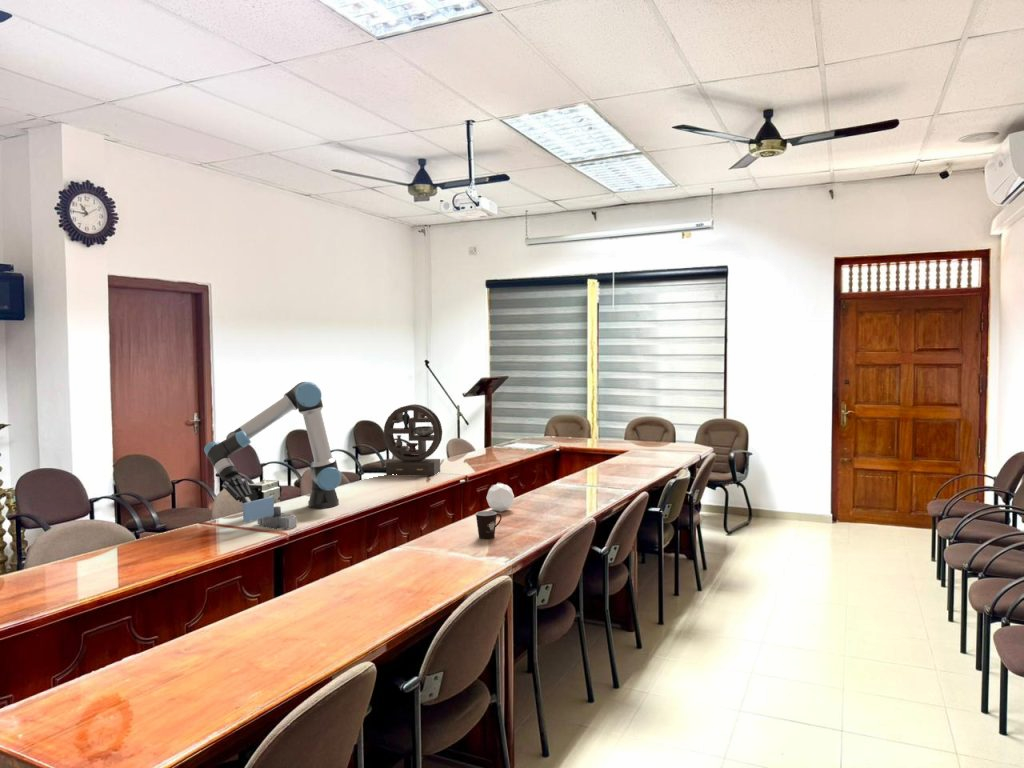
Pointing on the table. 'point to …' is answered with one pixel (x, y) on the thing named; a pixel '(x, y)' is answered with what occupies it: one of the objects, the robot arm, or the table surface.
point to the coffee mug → (487, 524)
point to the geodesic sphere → (500, 497)
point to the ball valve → (265, 490)
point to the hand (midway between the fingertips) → (252, 510)
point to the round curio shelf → (406, 460)
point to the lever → (259, 509)
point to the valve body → (279, 521)
